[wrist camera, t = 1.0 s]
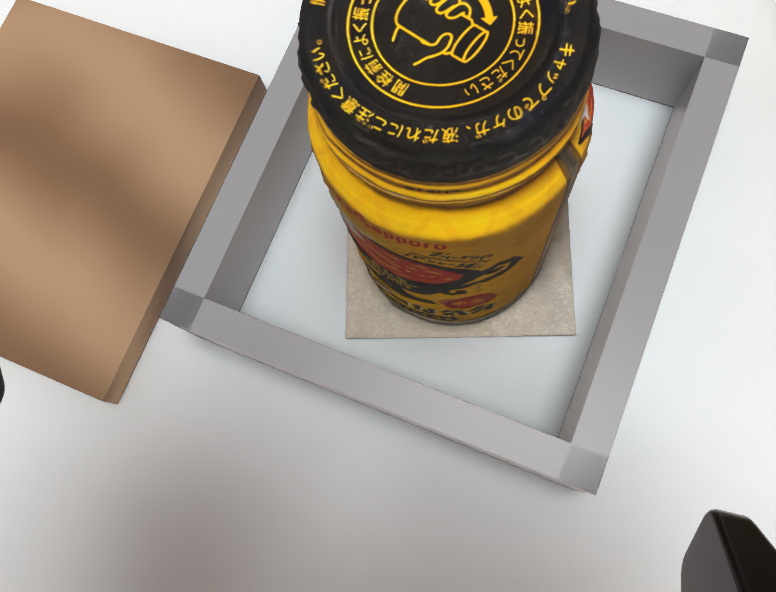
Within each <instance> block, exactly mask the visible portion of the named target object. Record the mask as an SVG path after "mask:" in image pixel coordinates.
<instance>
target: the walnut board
mask: <svg viewBox="0 0 776 592" xmlns="http://www.w3.org/2000/svg"><path fill="white" fill-rule="evenodd" d="M266 91H267V90H266V88H265V86H264V84H263V82H262V80H261V78H260V76H259V75H257V74H253V73H250V72H247V71H244V70H241V69H238V68H235V67H232V66H229V65H226V64H223V63H220V62H217V61H214V60H211V59H208V58H205V57H202V56H199V55H196V54H192V53H189V52H186V51H183V50H180V49H177V48H174V47H171V46H168V45H165V44H162V43H159V42H156V41H153V40H150V39H147V38H144V37H141V36H138V35H135V34H131V33H128V32H125V31H122V30H119V29H116V28H113V27H110V26H107V25H104V24H101V23H98V22H95V21H92V20H89V19H86V18H83V17H80V16H77V15H73V14H70V13H67V12H64V11H61V10H58V9H55V8H52V7H49V6H46V5H43V4H40V3H37V2H34V1H31V0H16V2H15V3H14V5H13V7H12V9H11V10H10V12H9V14H8V16H7V17H6V19H5V21H4V23H3V24H2V26H1V28H0V356H1V357H3V358H5V359H7V360H10V361H12V362H14V363H17V364H19V365H21V366H23V367H26V368H28V369H30V370H33V371H35V372H37V373H39V374H42V375H44V376H46V377H49V378H51V379H53V380H55V381H58V382H60V383H62V384H65V385H67V386H69V387H71V388H74V389H76V390H78V391H81V392H83V393H85V394H87V395H90V396H92V397H94V398H97V399H99V400H101V401H105V402H110V403H116V404H118V402H119V400H120V398H121V396H122V393H123V391H124V389H125V387H126V385H127V383H128V381H129V379H130V377H131V375H132V372H133V370H134V368H135V366H136V364H137V362H138V360H139V358H140V356H141V354H142V351H143V349H144V347H145V345H146V343H147V341H148V339H149V337H150V335H151V333H152V330H153V328H154V326H155V324H156V322H157V320H158V318H159V316H160V314H161V312H162V309H163V307H164V305H165V303H166V301H167V299H168V297H169V295H170V293H171V290H172V288H173V286H174V284H175V282H176V280H177V278H178V276H179V274H180V272H181V269H182V267H183V265H184V263H185V261H186V259H187V257H188V255H189V253H190V251H191V248H192V246H193V244H194V242H195V240H196V238H197V236H198V234H199V232H200V230H201V227H202V225H203V223H204V221H205V219H206V217H207V215H208V213H209V211H210V209H211V206H212V204H213V202H214V200H215V198H216V196H217V194H218V192H219V190H220V188H221V185H222V183H223V181H224V179H225V177H226V175H227V173H228V171H229V169H230V167H231V164H232V162H233V160H234V158H235V156H236V154H237V152H238V150H239V148H240V146H241V143H242V141H243V139H244V137H245V135H246V133H247V131H248V129H249V127H250V125H251V122H252V120H253V118H254V116H255V114H256V112H257V110H258V108H259V106H260V104H261V101H262V99H263V97H264V95H265V93H266Z"/></svg>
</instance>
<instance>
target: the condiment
mask: <svg viewBox="0 0 776 592" xmlns="http://www.w3.org/2000/svg"><path fill="white" fill-rule="evenodd" d="M597 6H598V1H597V0H303V1H302V6H301V11H300V18H299V23H298V26H299V32H298V41H299V48H298V51H297V55H298V67H299V69H300V71H301V73H302V75H301V80H302V82H303V85H304V87H305V88H306V90H307V91H308V92H309V99H308V131H309V133H310V140H311V149H312V151H313V152H314V154H315V157H316V159H317V162H318V164H319V167H320V169H321V173H322V176H323V179H324V182H325V184H326V185H327V186H328V188H329V192H330V195H331V197H332V199H333V200H334V201H335V204H336V206H337V207H338V208H339V210H340V213H341V216H342V218H343V220H344V222H345V224H346V225H347V229H348V247H347V310H346V336H345V338H436V337H442V338H443V337H495V336H524V335H576V329H575V313H574V298H573V284H572V266H571V253H570V231H569V216H568V197H569V195H570V192H571V190H572V187H573V185H574V182H575V179H576V177H577V174H578V173H579V171H580V168H581V166H582V164H583V162H584V160H585V158H586V156H587V149H588V146H589V143H590V140H591V135H592V125H593V123H592V120H593V113H594V96H593V87H592V84H591V82H592V79H593V75H594V71H595V66H596V62H597V59H598V55H599V43H600V36H601V26H600V17H599V14H598V12H597Z"/></svg>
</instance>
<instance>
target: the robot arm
mask: <svg viewBox="0 0 776 592" xmlns="http://www.w3.org/2000/svg"><path fill="white" fill-rule="evenodd" d="M4 391H5V385H4V380H3V376H2V372H1V368H0V403H1V401H2V399H3V396H4ZM681 592H776V549H775V548H774V546H773V545H772V544H771V543H770V541H769V540H768V539H767V538H766V537H765V535H764V534H763V533H762V532H761V530H760V529H759V528H758V527H757V525H756V524H755V523H754V522H753V521H752V520H751V519H749V518H748V517H745V516H743V515H738V514H734V513H730V512H726V511H722V510H717V509H714V510H710V511H709V512H707V513H706V515H705V516H704V518H703V520H702V522H701V524H700V526H699V527H698V529H697V531H696V533H695V535H694V537H693V539H692V541H691V543H690V545H689V547H688V549H687V551H686V553H685V556H684V559H683V563H682V570H681Z"/></svg>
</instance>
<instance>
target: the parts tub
mask: <svg viewBox="0 0 776 592" xmlns="http://www.w3.org/2000/svg"><path fill="white" fill-rule="evenodd" d="M597 1H598V6H597V12H598V14H599V17H600V26H601V36H600V43H599V55H598V59H597V62H596V66H595V71H594V75H593V79H592V83H595V84H599V85H602V86H605V87H609V88H612V89H615V90H619V91H622V92H625V93H629V94H632V95H635V96H638V97H642V98H645V99H648V100H652V101H655V102H658V103H662V104H665V105H668V106H672V107H674V109H673V112H672V115H671V118H670V120H669V123H668V126H667V129H666V132H665V135H664V138H663V140H662V143H661V146H660V149H659V152H658V155H657V158H656V160H655V163H654V166H653V169H652V172H651V175H650V177H649V180H648V183H647V186H646V189H645V192H644V195H643V197H642V200H641V203H640V206H639V209H638V212H637V215H636V217H635V220H634V223H633V226H632V229H631V232H630V235H629V237H628V240H627V243H626V246H625V249H624V252H623V255H622V257H621V260H620V263H619V266H618V269H617V272H616V274H615V277H614V280H613V283H612V286H611V289H610V292H609V294H608V297H607V300H606V303H605V306H604V309H603V312H602V314H601V317H600V320H599V323H598V326H597V329H596V332H595V334H594V337H593V340H592V343H591V346H590V349H589V352H588V354H587V357H586V360H585V363H584V366H583V369H582V372H581V374H580V377H579V380H578V383H577V386H576V389H575V391H574V394H573V397H572V400H571V403H570V406H569V409H568V411H567V414H566V417H565V420H564V423H563V426H562V429H561V431H560V434H559V437H558V438H556V437H554V436H551V435H549V434H546V433H543V432H541V431H538V430H536V429H533V428H531V427H528V426H526V425H523V424H521V423H518V422H516V421H513V420H511V419H508V418H506V417H503V416H501V415H498V414H495V413H493V412H490V411H488V410H485V409H483V408H480V407H478V406H475V405H473V404H470V403H468V402H465V401H463V400H460V399H458V398H455V397H453V396H450V395H448V394H445V393H442V392H440V391H437V390H435V389H432V388H430V387H427V386H425V385H422V384H420V383H417V382H415V381H412V380H410V379H407V378H405V377H402V376H400V375H397V374H394V373H392V372H389V371H387V370H384V369H382V368H379V367H377V366H374V365H372V364H369V363H367V362H364V361H362V360H359V359H357V358H354V357H352V356H349V355H346V354H344V353H341V352H339V351H336V350H334V349H331V348H329V347H326V346H324V345H321V344H319V343H316V342H314V341H311V340H309V339H306V338H304V337H301V336H299V335H296V334H293V333H291V332H288V331H286V330H283V329H281V328H278V327H276V326H273V325H271V324H268V323H266V322H263V321H261V320H258V319H256V318H253V317H251V316H248V315H245V314H243V313H240V312H239V311H240V309H241V306H242V304H243V302H244V300H245V298H246V295H247V293H248V291H249V289H250V287H251V284H252V282H253V280H254V278H255V276H256V273H257V271H258V269H259V267H260V264H261V262H262V260H263V258H264V256H265V253H266V251H267V249H268V247H269V245H270V242H271V240H272V238H273V236H274V234H275V231H276V229H277V227H278V225H279V223H280V220H281V218H282V216H283V214H284V212H285V209H286V207H287V205H288V203H289V201H290V198H291V196H292V194H293V192H294V190H295V187H296V185H297V183H298V181H299V179H300V176H301V174H302V172H303V170H304V168H305V165H306V163H307V161H308V159H309V157H310V154H311V152H312V149H311V140H310V133H309V131H308V99H309V92H308V91H307V90H306V88H305V87H304V85H303V82H302V80H301V75H302V73H301V71H300V69H299V67H298V55H297V51H298V48H299V41H298V32H299V26H298V27H297V29H296V32H295V34H294V36H293V38H292V40H291V42H290V44H289V46H288V48H287V50H286V53H285V55H284V57H283V59H282V61H281V63H280V65H279V67H278V69H277V71H276V74H275V76H274V78H273V80H272V82H271V84H270V86H269V88H268V90H267V92H266V95H265V97H264V99H263V101H262V103H261V105H260V107H259V109H258V111H257V113H256V116H255V118H254V120H253V122H252V124H251V126H250V128H249V130H248V132H247V134H246V137H245V139H244V141H243V143H242V145H241V147H240V149H239V151H238V153H237V155H236V158H235V160H234V162H233V164H232V166H231V168H230V170H229V172H228V174H227V176H226V179H225V181H224V183H223V185H222V187H221V189H220V191H219V193H218V195H217V198H216V200H215V202H214V204H213V206H212V208H211V210H210V212H209V214H208V216H207V219H206V221H205V223H204V225H203V227H202V229H201V231H200V233H199V235H198V237H197V240H196V242H195V244H194V246H193V248H192V250H191V252H190V254H189V256H188V258H187V261H186V263H185V265H184V267H183V269H182V271H181V273H180V275H179V277H178V279H177V282H176V284H175V286H174V288H173V290H172V292H171V294H170V296H169V298H168V300H167V303H166V305H165V307H164V309H163V311H162V313H161V315H160V317H159V318H161V319H163V320H165V321H167V322H169V323H171V324H173V325H175V326H178V327H180V328H182V329H184V330H186V331H188V332H190V333H192V334H194V335H196V336H198V337H201V338H203V339H205V340H208V341H210V342H213V343H215V344H218V345H220V346H223V347H225V348H227V349H230V350H232V351H235V352H237V353H240V354H242V355H245V356H247V357H250V358H252V359H254V360H257V361H259V362H262V363H264V364H267V365H269V366H272V367H274V368H277V369H279V370H281V371H284V372H286V373H289V374H291V375H294V376H296V377H299V378H301V379H304V380H306V381H308V382H311V383H313V384H316V385H318V386H321V387H323V388H326V389H328V390H331V391H333V392H335V393H338V394H340V395H343V396H345V397H348V398H350V399H353V400H355V401H358V402H360V403H362V404H365V405H367V406H370V407H372V408H375V409H377V410H380V411H382V412H385V413H387V414H389V415H392V416H394V417H397V418H399V419H402V420H404V421H407V422H409V423H412V424H414V425H416V426H419V427H421V428H424V429H426V430H429V431H431V432H434V433H436V434H439V435H441V436H443V437H446V438H448V439H451V440H453V441H456V442H458V443H461V444H463V445H466V446H468V447H470V448H473V449H475V450H478V451H480V452H483V453H485V454H488V455H490V456H493V457H495V458H497V459H500V460H502V461H505V462H507V463H510V464H512V465H515V466H517V467H520V468H522V469H524V470H527V471H529V472H532V473H534V474H537V475H539V476H542V477H544V478H546V479H549V480H551V481H554V482H556V483H559V484H561V485H564V486H566V487H569V488H571V489H573V490H576V491H580V492H585V493H589V494H594V495H596V493H597V490H598V487H599V484H600V481H601V478H602V475H603V472H604V469H605V466H606V463H607V460H608V457H609V454H610V451H611V448H612V445H613V442H614V439H615V436H616V433H617V430H618V427H619V424H620V421H621V418H622V415H623V412H624V409H625V406H626V403H627V400H628V397H629V394H630V391H631V388H632V385H633V382H634V379H635V376H636V373H637V370H638V367H639V364H640V361H641V358H642V355H643V352H644V350H645V347H646V344H647V341H648V338H649V335H650V332H651V329H652V326H653V323H654V320H655V317H656V314H657V311H658V308H659V305H660V302H661V299H662V296H663V293H664V290H665V287H666V284H667V281H668V278H669V275H670V272H671V269H672V266H673V263H674V260H675V257H676V254H677V251H678V248H679V245H680V242H681V239H682V236H683V233H684V230H685V227H686V224H687V221H688V218H689V215H690V212H691V209H692V206H693V203H694V200H695V197H696V194H697V191H698V188H699V185H700V182H701V179H702V176H703V173H704V170H705V167H706V164H707V161H708V158H709V155H710V152H711V149H712V146H713V143H714V140H715V137H716V134H717V132H718V129H719V126H720V123H721V120H722V117H723V114H724V111H725V108H726V105H727V102H728V99H729V96H730V93H731V90H732V87H733V84H734V81H735V78H736V75H737V72H738V69H739V66H740V63H741V60H742V57H743V54H744V51H745V48H746V45H747V42H748V39H749V38H748V37H744V36H741V35H737V34H733V33H730V32H726V31H723V30H719V29H716V28H712V27H708V26H705V25H701V24H698V23H694V22H690V21H687V20H683V19H680V18H676V17H673V16H669V15H665V14H662V13H658V12H655V11H651V10H647V9H644V8H640V7H637V6H633V5H630V4H626V3H622V2H619V1H615V0H597Z"/></svg>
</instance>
